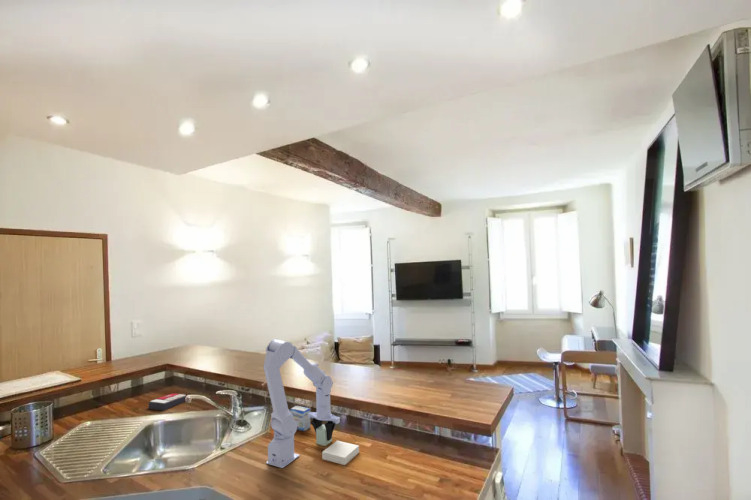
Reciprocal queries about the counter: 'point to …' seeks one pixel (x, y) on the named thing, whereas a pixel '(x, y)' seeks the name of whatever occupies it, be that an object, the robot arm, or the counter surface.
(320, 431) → the sage block
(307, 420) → the medicine box
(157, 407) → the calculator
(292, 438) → the robot arm
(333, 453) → the white block
